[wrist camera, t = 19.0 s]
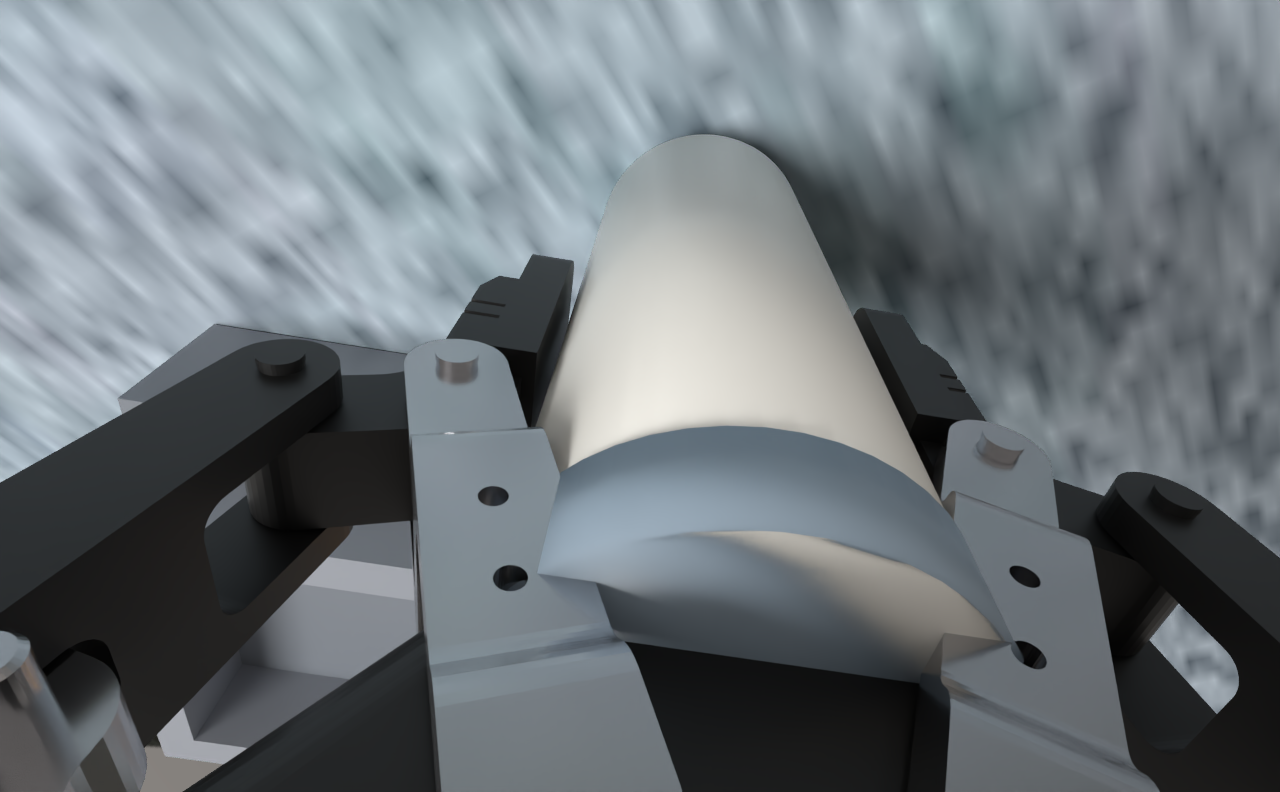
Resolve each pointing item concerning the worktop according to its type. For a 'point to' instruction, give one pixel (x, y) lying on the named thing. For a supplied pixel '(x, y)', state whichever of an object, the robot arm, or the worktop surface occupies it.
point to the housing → (294, 596)
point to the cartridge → (742, 439)
